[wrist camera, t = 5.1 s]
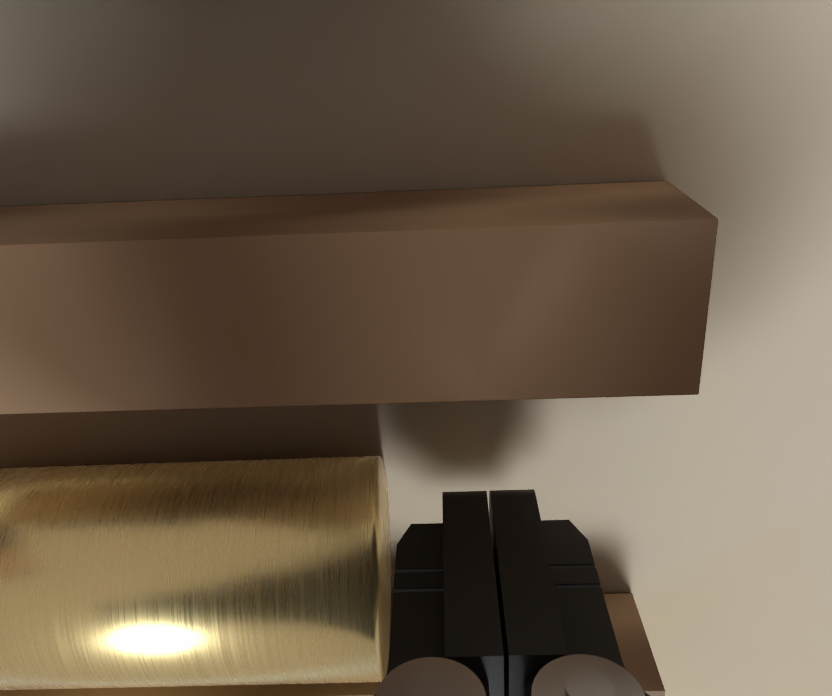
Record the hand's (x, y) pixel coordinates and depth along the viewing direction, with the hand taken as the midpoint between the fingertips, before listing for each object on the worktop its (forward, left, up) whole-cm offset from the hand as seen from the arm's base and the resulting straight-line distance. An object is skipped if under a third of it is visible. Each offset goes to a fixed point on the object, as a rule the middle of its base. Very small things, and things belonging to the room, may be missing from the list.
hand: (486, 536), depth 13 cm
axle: (+6, +4, -2) cm, 7 cm away
